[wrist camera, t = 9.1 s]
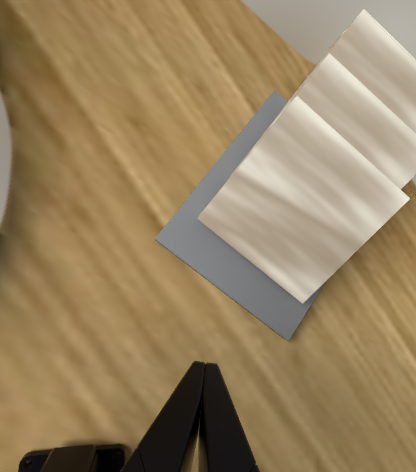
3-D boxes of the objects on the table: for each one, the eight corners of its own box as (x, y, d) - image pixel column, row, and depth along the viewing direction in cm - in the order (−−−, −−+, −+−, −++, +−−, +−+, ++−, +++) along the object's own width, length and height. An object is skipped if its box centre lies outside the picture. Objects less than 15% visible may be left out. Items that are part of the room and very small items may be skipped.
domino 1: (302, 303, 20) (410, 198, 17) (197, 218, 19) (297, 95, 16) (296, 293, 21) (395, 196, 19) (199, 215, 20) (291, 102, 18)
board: (282, 337, 22) (288, 341, 21) (154, 239, 20) (154, 238, 19) (375, 190, 25) (384, 187, 24) (269, 97, 23) (274, 90, 22)
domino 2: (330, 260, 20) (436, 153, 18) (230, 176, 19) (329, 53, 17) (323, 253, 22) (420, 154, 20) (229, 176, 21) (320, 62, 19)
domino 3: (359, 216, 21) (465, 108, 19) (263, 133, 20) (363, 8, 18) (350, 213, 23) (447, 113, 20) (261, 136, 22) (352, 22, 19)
